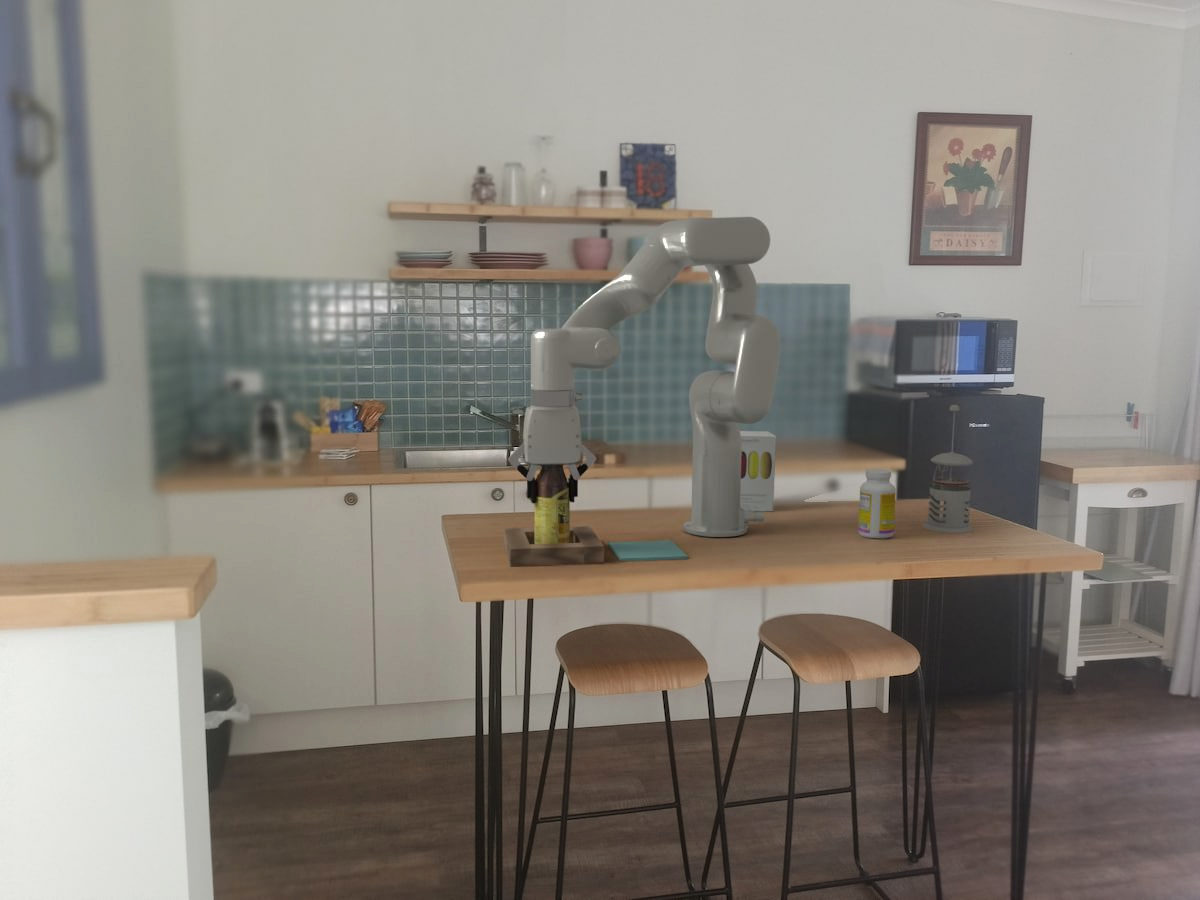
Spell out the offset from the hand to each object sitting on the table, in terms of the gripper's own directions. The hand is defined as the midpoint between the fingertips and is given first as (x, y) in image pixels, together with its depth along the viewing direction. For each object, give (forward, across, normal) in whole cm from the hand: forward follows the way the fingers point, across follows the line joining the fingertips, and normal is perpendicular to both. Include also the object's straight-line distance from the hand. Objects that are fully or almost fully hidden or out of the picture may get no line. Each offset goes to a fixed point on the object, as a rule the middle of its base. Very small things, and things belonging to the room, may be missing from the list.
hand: (552, 500), depth 173 cm
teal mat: (+10, -17, +1) cm, 20 cm away
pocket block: (+10, 0, 0) cm, 10 cm away
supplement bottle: (+10, -64, -6) cm, 65 cm away
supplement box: (+10, -48, -36) cm, 61 cm away
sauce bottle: (+10, 0, 0) cm, 10 cm away
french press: (+10, -82, -12) cm, 83 cm away
